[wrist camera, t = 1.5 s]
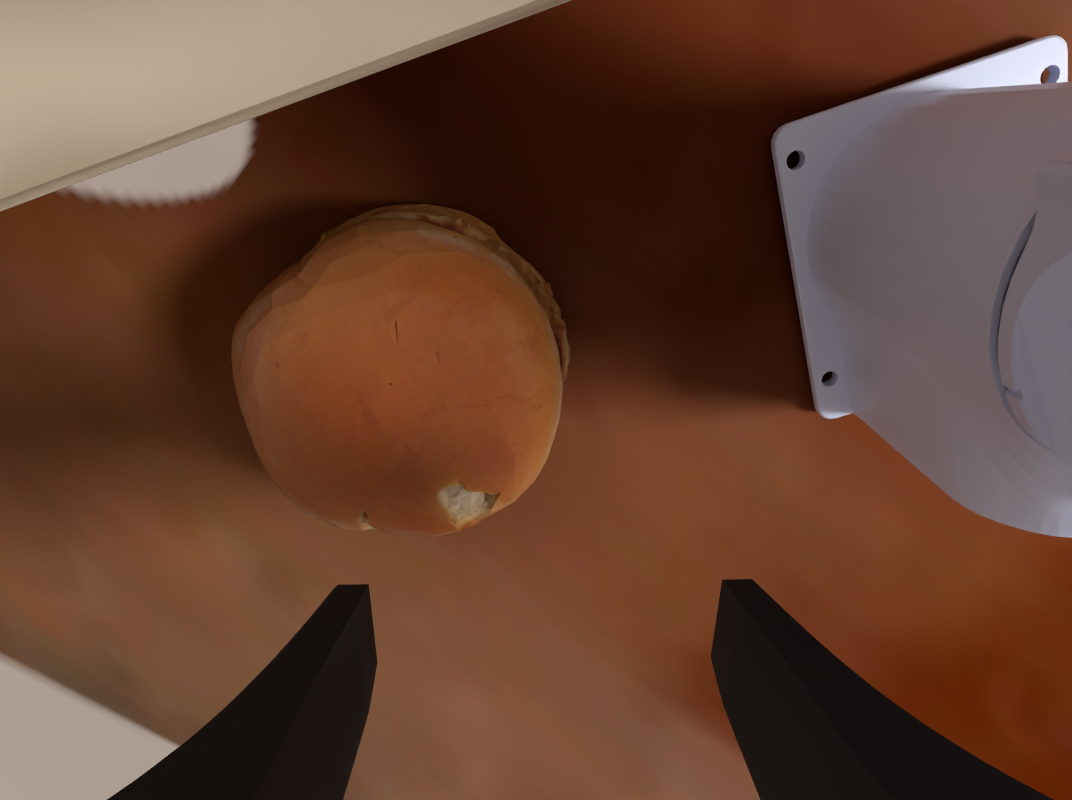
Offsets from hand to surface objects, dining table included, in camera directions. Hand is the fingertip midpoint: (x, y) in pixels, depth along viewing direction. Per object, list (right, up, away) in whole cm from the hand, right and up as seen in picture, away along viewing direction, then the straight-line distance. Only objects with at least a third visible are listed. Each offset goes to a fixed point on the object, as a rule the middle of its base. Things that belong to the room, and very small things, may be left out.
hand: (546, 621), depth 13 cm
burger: (-4, +6, +8) cm, 11 cm away
